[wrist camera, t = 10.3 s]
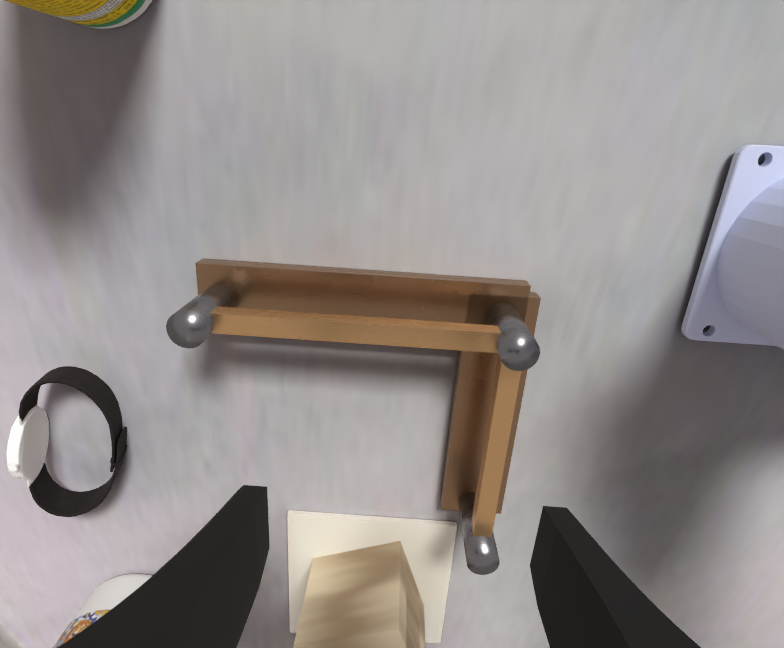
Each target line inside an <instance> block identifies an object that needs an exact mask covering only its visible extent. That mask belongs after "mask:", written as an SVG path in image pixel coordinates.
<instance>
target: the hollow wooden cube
mask: <svg viewBox="0 0 784 648" xmlns="http://www.w3.org/2000/svg"><path fill="white" fill-rule="evenodd" d="M293 648H426V647H425V620H424V604H423V602H422V599H421V596H420V593H419V591H418V588H417V585H416V582H415V580H414V577H413V574H412V571H411V569H410V566H409V563H408V560H407V558H406V555H405V552H404V549H403V547H402V544H401V541H397V542H392V543H387V544H382V545H377V546H372V547H367V548H362V549H357V550H352V551H347V552H342V553H337V554H332V555H327V556H322V557H317V558H313V560H312V565H311V570H310V574H309V579H308V583H307V588H306V592H305V597H304V601H303V606H302V610H301V615H300V619H299V624H298V628H297V633H296V637H295V642H294V646H293Z"/></svg>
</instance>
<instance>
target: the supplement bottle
mask: <svg viewBox="0 0 784 648" xmlns="http://www.w3.org/2000/svg"><path fill="white" fill-rule="evenodd" d="M5 1H8V2H11V3H15V4H17V5H20V6H23V7H26V8H30V9H33V10H36V11H39V12H42V13H44V14H48V15H51V16H54V17H57V18H60V19H64V20H67V21H70V22H73V23H76V24H79V25H83V26H86V27H90V28H98V29H108V28H115V27H120V26H122V25H125V24H127V23H129V22H131V21H133V20H135V19H136V18H138V17H139V16H140V15H141V14H142V13H143V12H145V10H146V9H147V7H148V6H149V4H150V3H151V2H152V0H5Z"/></svg>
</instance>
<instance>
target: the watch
mask: <svg viewBox="0 0 784 648" xmlns="http://www.w3.org/2000/svg"><path fill="white" fill-rule="evenodd" d="M46 383H61V384H67V385H69V386H72V387H74V388H77V389H78V390H80V391H82V392H83V393H85V394H86V395H87V396H88V397H90V398H91V399H92V400H93V401H94V402H95V403H96V405H97V406H98V407H99V408H100V409H101V411H102V412H103V414H104V416H105V418H106V420H107V422H108V424H109V428H110V434H111V441H112V457H111V461H110V462H111V468H110V472H113V469H114V467H115V470H114V473H113V475H112V477H111V479H110V480H109V481H108V482H107V483H105V484H104V485H102V486H100V487H99V488H96V489H93V490H90V491H85V492H75V491H70V490H67V489H64V488H62V487H61V486H59V485H58V484H57V483H56V482H55V481H54V480H53V479H52V477H51V476H50V474H49V473H48V471H47V468H46V465H45V460H44V459H45V457H46V454H47V448H48V443H49V421H48V417H47V414H46V411H45V410H44V409H42V408H41V407H39V406H37V400H38V393H39V389H40V386H41V385H43V384H46ZM126 437H127V427H124V428H123V430H122V417H121V412H120V408H119V404H118V401H117V399H116V397H115V395H114V393H113V392H112V390H111V389H110V387H109V386H108V385H107V384H106V383H105V382H104V381H102V380H101V379H100V378H99V377H98V376H96V375H94V374H93V373H91V372H89V371H87V370H84V369H81V368H77V367H59V368H56V369H54V370H51V371H49V372H48V373H47V374H45V375H44V376H43V377H42V378H41V379H40V380H38V381H37V382H36V383H35V384H34V385H33V386H32V387H31V388H30V389H29V390H28V391H27V392H26V393H25V395H24V397H23V399H22V400H21V402H20V408H19V416H18V417H17V419H16V421H15V422H14V424H13V426H12V428H11V431H10V436H9V440H8V446H7V465H8V469H9V472H10V473H11V474H12V476H13V477H15V478H20V479H21V478H22V479H24V480H28V487H29V488H30V492H31V494H32V497H33V499H34V500H35V502H36V503H37V504H38V505H39V507H41V508H42V509H43V510H45V511H46V512H48V513H50V514H53V515H56V516H63V517H73V516H78V515H81V514H84V513H86V512H89V511H91V510H92V509H94V508H95V507H97V506H98V505H99V504H101V503H102V502H103V500H104V499H105V498H106V496H107V495H108V493H109V491H110V489H111V487H112V484H113V482H114V480H115V477H116V475H117V473H118V471H119V468H120V466H121V463H122V460H123V457H124V453H125V451H126V447H127V445H126Z"/></svg>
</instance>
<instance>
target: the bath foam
mask: <svg viewBox="0 0 784 648" xmlns="http://www.w3.org/2000/svg"><path fill="white" fill-rule="evenodd" d="M151 577H152V575H146V574H127V575H121V576H117V577H114V578H111V579H109V580H107V581H105V582H104V583H102V584H101V585H99V586H98V587H97V588H96V589H95V590H94V591H93V592H92V593H91V594H90V596H89V597H88V598H87V600H86V601H85V603H84V604H83V606H82V607H81V608H80V610H79V611H78V613H77V614H76V616H75V617H74V619H73V620H72V621H71V623H70V624H69V625H68V627H67V628H66V630H65V631H64V633H63V634H62V635H61V637H60V638H59V640H58V641H57V643H56V644H55V646H54V647H53V648H57V647H59V646H61V645H62V644H64V643H65V642H67V641H68V640H70V639H71V638H72V637H74V636H75V635H77V634H78V633H79V632H81V631H82V630H84V629H85V628H87V627H88V626H89V625H91V624H92V623H94V622H95V621H96V620H98V619H99V618H100V617H102V616H103V615H104V614H106V613H107V612H108V611H110V610H111V609H113V608H114V607H115V606H116V605H118V604H119V603H120V602H121V601H123V600H124V599H125V598H126V597H128V596H129V595H130V594H132V593H133V592H134V591H135V590H136V589H138V588H139V587H140V586H141V585H142V584H144V583H145V582H146V581H147V580H148V579H149V578H151Z"/></svg>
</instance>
